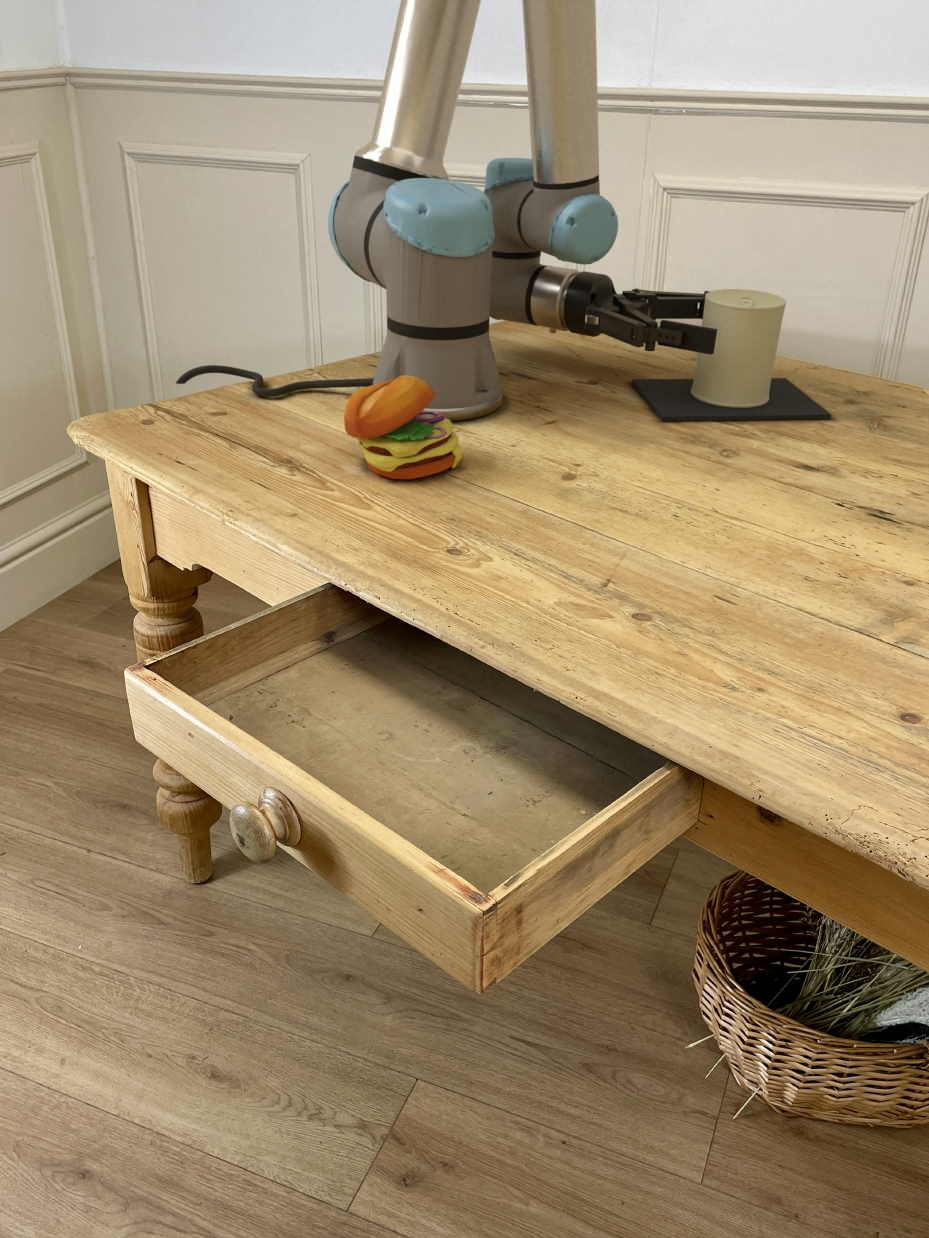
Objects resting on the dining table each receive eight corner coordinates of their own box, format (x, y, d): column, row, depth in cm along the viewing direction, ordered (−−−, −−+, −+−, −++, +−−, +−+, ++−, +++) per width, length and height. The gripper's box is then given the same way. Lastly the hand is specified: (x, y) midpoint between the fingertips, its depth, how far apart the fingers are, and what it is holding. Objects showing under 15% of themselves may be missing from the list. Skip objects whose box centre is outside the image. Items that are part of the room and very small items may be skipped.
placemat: (662, 421, 113) (663, 416, 113) (631, 383, 125) (632, 379, 124) (830, 419, 115) (831, 414, 115) (784, 382, 127) (785, 377, 127)
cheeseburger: (464, 485, 95) (440, 386, 90) (357, 506, 96) (327, 410, 91) (465, 446, 104) (444, 353, 99) (367, 466, 105) (340, 376, 100)
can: (691, 405, 116) (707, 300, 110) (689, 381, 124) (703, 282, 118) (772, 411, 115) (792, 305, 109) (765, 387, 123) (783, 287, 117)
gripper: (616, 313, 136) (767, 339, 126) (522, 353, 118) (689, 387, 108) (622, 256, 132) (778, 278, 122) (525, 288, 114) (699, 317, 104)
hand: (736, 329), depth 115 cm, fingers open, 13 cm apart
